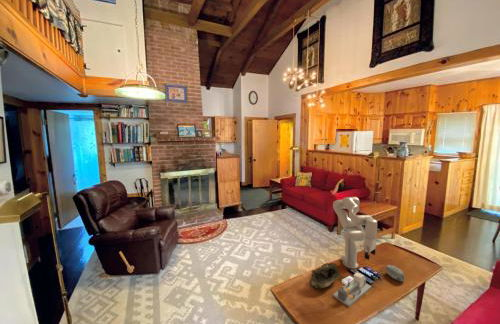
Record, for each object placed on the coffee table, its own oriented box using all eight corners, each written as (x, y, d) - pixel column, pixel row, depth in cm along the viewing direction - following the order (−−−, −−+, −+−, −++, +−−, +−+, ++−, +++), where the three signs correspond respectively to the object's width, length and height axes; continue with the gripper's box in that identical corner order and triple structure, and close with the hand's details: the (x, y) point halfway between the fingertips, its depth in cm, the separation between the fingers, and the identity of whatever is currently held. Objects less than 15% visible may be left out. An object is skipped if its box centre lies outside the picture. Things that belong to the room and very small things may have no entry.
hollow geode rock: (336, 282, 166) (327, 263, 175) (346, 279, 157) (336, 259, 165) (309, 293, 155) (301, 271, 163) (318, 290, 145) (309, 268, 154)
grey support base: (333, 296, 146) (333, 286, 145) (355, 279, 162) (355, 270, 161) (349, 307, 136) (349, 297, 135) (371, 288, 152) (371, 278, 151)
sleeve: (353, 284, 154) (353, 274, 153) (357, 281, 157) (357, 272, 156) (360, 288, 150) (360, 278, 149) (363, 285, 152) (363, 275, 152)
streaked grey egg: (410, 278, 156) (403, 267, 157) (401, 286, 155) (394, 274, 155) (395, 271, 170) (389, 261, 170) (387, 278, 168) (380, 267, 169)
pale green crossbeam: (341, 294, 143) (341, 291, 142) (360, 279, 157) (360, 277, 157) (344, 296, 141) (344, 293, 140) (363, 281, 155) (363, 278, 155)
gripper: (370, 230, 160) (369, 250, 162) (360, 237, 150) (359, 258, 152) (381, 233, 154) (380, 254, 156) (370, 241, 144) (369, 263, 146)
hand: (369, 256), depth 154 cm, fingers open, 9 cm apart
